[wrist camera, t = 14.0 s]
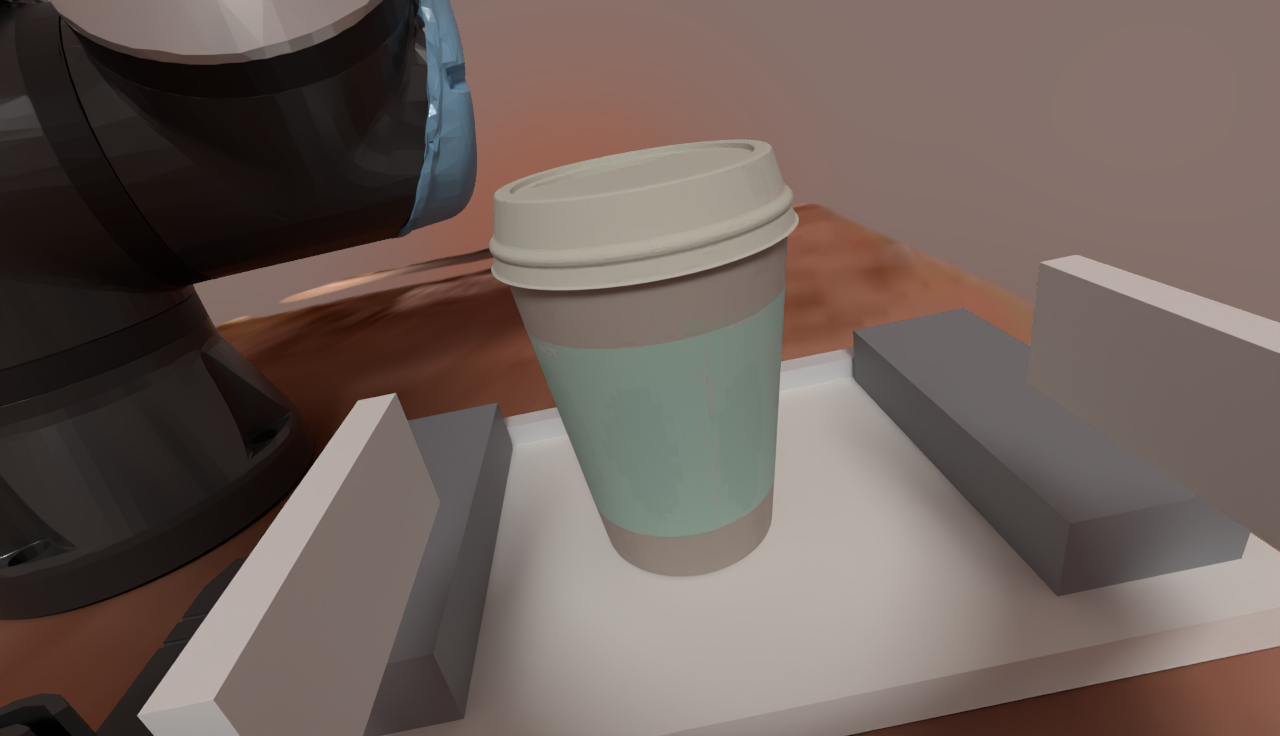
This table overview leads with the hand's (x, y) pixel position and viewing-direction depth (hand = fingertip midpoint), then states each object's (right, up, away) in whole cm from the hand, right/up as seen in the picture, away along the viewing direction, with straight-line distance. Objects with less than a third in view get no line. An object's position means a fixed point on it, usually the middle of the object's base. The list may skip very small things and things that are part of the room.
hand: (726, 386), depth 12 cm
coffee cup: (0, -5, +9) cm, 10 cm away
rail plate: (+1, -6, +10) cm, 12 cm away
